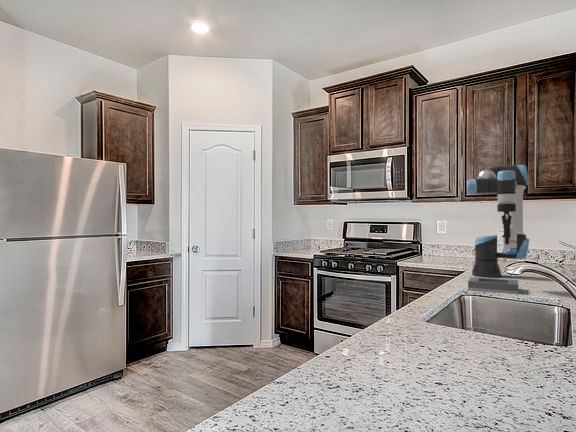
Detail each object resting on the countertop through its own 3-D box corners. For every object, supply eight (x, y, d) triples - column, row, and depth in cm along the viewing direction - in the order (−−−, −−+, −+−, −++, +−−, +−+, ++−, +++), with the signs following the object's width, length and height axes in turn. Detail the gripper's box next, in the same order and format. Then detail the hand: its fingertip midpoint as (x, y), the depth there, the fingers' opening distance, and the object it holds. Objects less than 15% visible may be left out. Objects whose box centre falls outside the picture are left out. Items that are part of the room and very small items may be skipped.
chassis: (470, 285, 187) (470, 277, 187) (517, 288, 177) (517, 280, 177) (468, 289, 175) (468, 281, 175) (518, 293, 165) (518, 284, 165)
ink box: (517, 254, 173) (517, 228, 173) (507, 254, 172) (506, 228, 173) (506, 252, 181) (506, 227, 181) (496, 252, 181) (496, 227, 181)
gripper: (497, 204, 189) (497, 249, 188) (497, 202, 169) (497, 252, 169) (514, 204, 185) (515, 249, 185) (516, 202, 166) (517, 252, 165)
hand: (506, 250), depth 177 cm, fingers closed on ink box, 10 cm apart
